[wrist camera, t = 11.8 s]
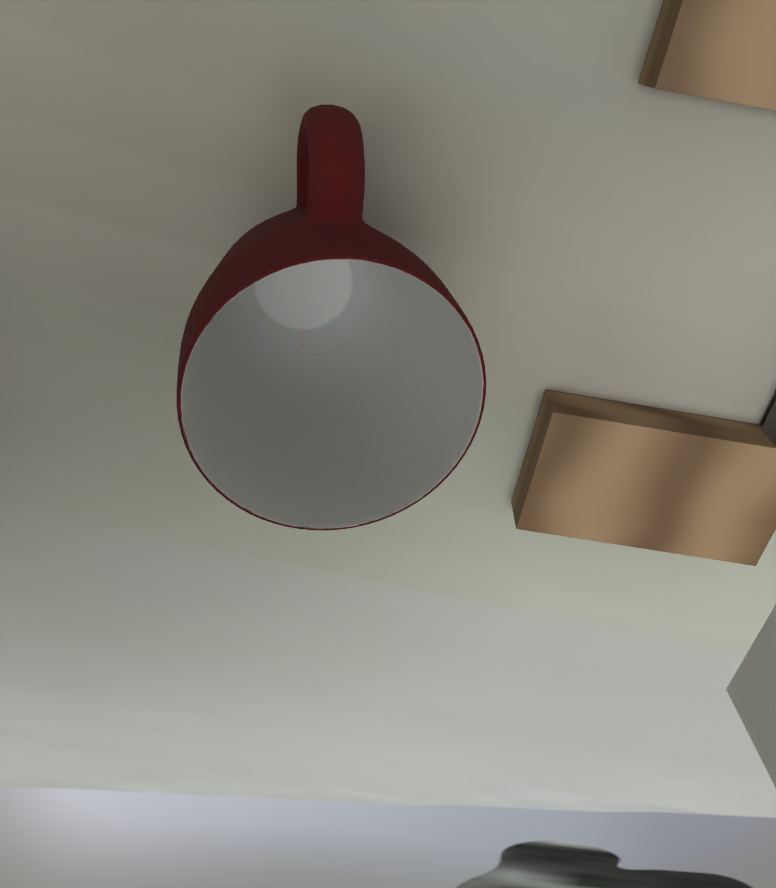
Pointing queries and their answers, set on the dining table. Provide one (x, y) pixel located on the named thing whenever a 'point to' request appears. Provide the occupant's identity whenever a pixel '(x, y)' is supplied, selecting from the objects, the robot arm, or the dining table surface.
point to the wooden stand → (652, 429)
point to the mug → (327, 357)
